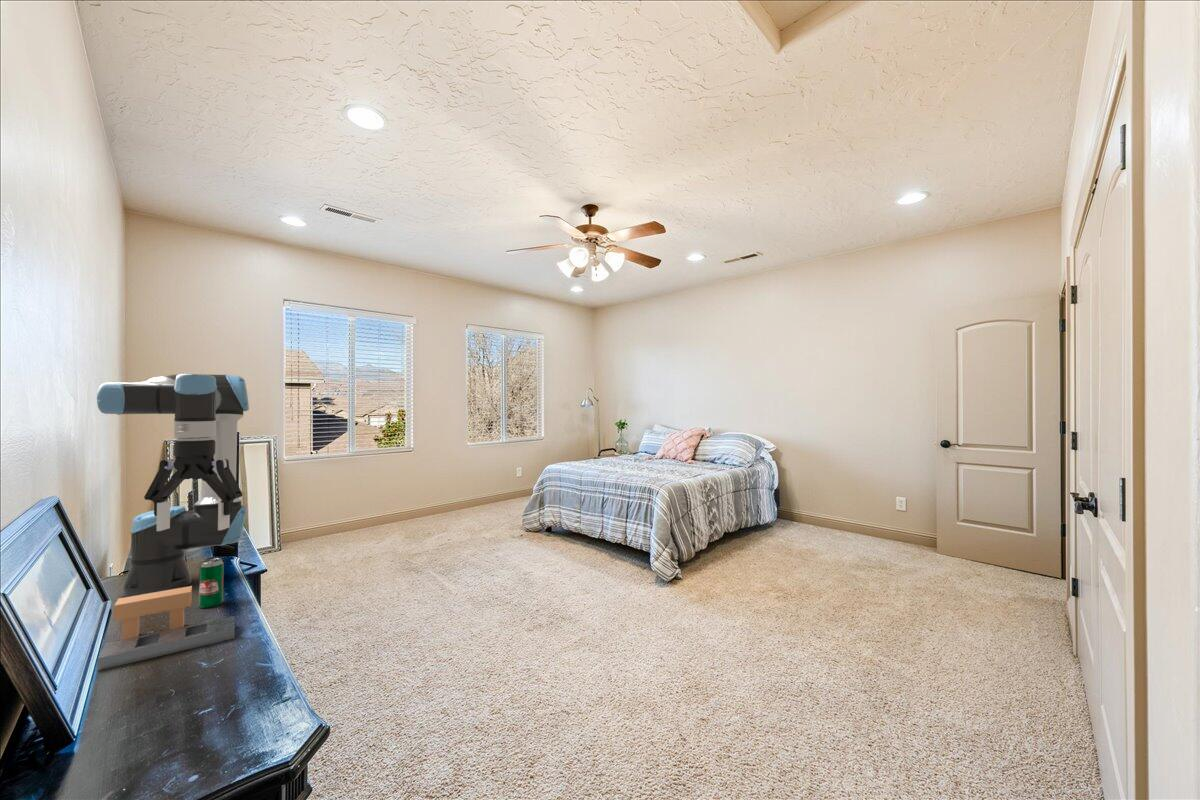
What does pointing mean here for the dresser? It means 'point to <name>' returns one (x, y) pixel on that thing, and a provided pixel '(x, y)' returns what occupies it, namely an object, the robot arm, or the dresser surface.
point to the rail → (165, 642)
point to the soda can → (211, 583)
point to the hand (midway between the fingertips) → (193, 529)
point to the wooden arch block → (152, 608)
